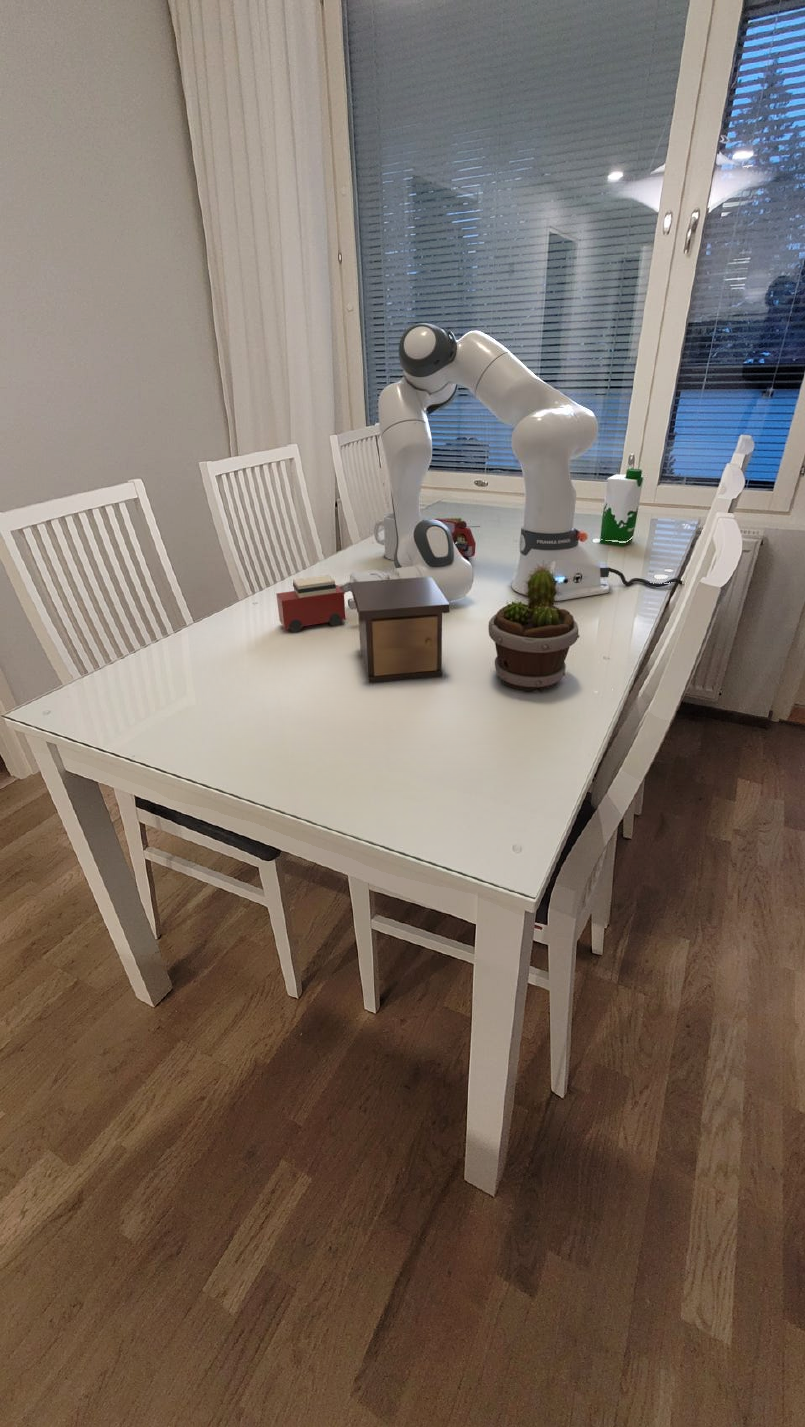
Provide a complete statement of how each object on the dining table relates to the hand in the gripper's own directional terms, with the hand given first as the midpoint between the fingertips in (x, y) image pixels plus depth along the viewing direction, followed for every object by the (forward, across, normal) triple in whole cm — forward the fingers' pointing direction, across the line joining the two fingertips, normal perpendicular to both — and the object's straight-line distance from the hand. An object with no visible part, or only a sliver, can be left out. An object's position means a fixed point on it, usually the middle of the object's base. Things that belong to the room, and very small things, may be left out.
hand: (342, 597), depth 135 cm
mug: (-27, -40, +5) cm, 49 cm away
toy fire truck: (-40, -30, +5) cm, 51 cm away
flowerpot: (-21, +40, +5) cm, 46 cm away
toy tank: (-50, -51, +5) cm, 71 cm away
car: (+7, 0, +5) cm, 8 cm away
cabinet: (-3, +25, +5) cm, 26 cm away
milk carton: (-90, -26, +5) cm, 94 cm away
